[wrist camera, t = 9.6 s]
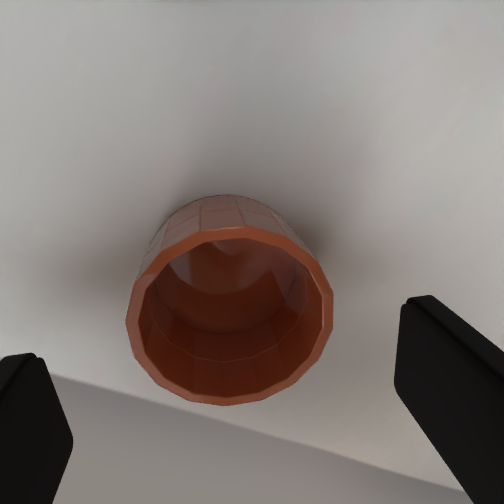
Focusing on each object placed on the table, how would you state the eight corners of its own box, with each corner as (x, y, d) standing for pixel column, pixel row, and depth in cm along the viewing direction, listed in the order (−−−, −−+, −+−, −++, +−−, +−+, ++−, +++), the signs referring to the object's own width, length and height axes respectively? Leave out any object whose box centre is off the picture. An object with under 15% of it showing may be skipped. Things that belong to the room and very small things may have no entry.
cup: (301, 323, 17) (333, 389, 13) (162, 343, 17) (148, 419, 13) (297, 186, 15) (334, 214, 11) (132, 204, 14) (104, 241, 10)
